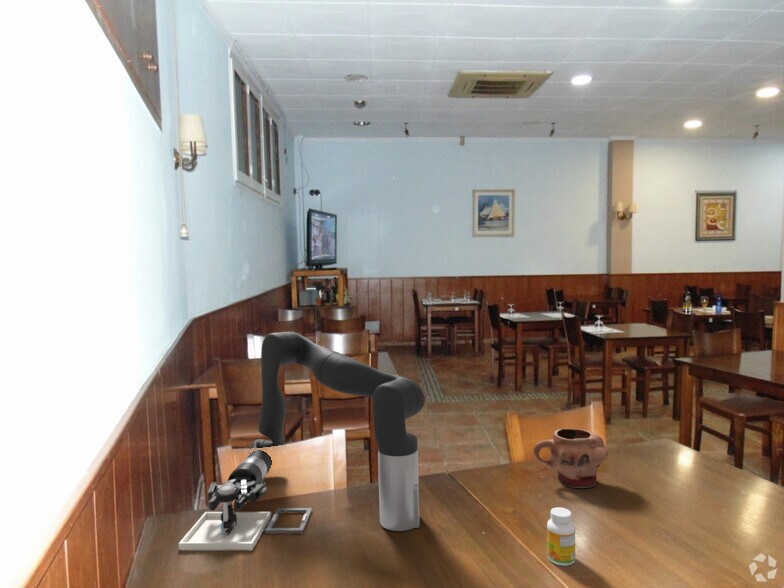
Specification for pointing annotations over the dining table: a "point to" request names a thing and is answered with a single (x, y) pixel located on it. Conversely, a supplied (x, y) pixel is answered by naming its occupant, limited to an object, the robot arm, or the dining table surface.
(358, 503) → the dining table surface
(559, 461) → the sculpted ceramic mug
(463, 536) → the dining table surface
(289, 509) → the grey flat frame
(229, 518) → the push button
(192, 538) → the tray
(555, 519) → the supplement bottle
